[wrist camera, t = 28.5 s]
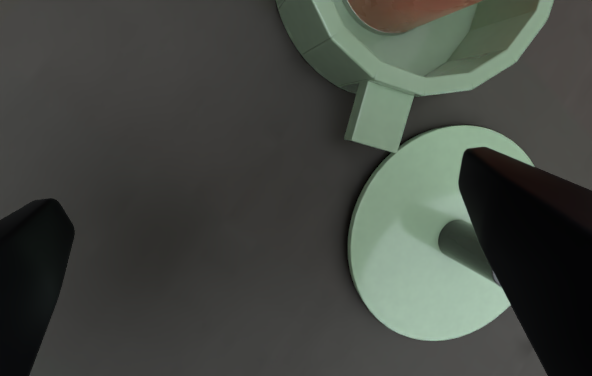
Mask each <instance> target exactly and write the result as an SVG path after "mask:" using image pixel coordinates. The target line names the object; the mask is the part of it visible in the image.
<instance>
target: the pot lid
mask: <svg viewBox="0 0 592 376" xmlns="http://www.w3.org/2000/svg"><path fill="white" fill-rule="evenodd" d="M476 147H488V148H490V149H493V150H495V151H497V152H500V153H502V154H505V155H507V156H509V157H512V158H514V159H517V160H519V161H521V162H524V163H526V164H529V165H531V166H533V167H534V165H533V163H532V162H531V160H530V158H529V157H528V156H527V155H526V154H525V153H524V151H523V150H522V149H521V148H520V147H519V146H518V145H516V144H515V143H514V142H513V141H512V140H510V139H508V138H507V137H505V136H504V135H502V134H500V133H498V132H495V131H493V130H491V129H487V128H483V127H479V126H469V125H453V126H444V127H440V128H435V129H432V130H429V131H426V132H424V133H421V134H419V135H417V136H415V137H413V138H412V139H410V140H408V141H406V142H405V143H403V144H402V145H401V146H399V148H398V151H397V153H391V154H390V155H389V156H387V157H386V158H385V159H384V160H383V161H382V162H381V164H380V165H379V166H378V167H377V168H376V170H375V171H374V172H373V173H372V175H371V176H370V178H369V179H368V181H367V182H366V184H365V186H364V188H363V190H362V192H361V194H360V196H359V198H358V200H357V203H356V205H355V208H354V211H353V214H352V218H351V222H350V227H349V234H348V262H349V268H350V273H351V276H352V280H353V283H354V286H355V288H356V290H357V292H358V294H359V296H360V298H361V300H362V301H363V303H364V304H365V306H366V307H367V308H368V310H369V311H370V312H371V313H372V314H373V315H374V316H375V317H376V318H377V319H378V320H379V321H380V322H381V323H383V324H384V325H385V326H386V327H388V328H389V329H391V330H393V331H395V332H396V333H398V334H401V335H404V336H406V337H409V338H413V339H418V340H426V341H440V340H448V339H453V338H458V337H461V336H464V335H467V334H469V333H472V332H474V331H476V330H478V329H480V328H482V327H483V326H485V325H487V324H488V323H490V322H491V321H493V320H494V319H495V318H497V317H498V316H499V315H500V314H502V313H503V312H504V311H505V310H506V309H507V308H508V307H509V306H510V305H511V304H510V302H509V300H508V299H507V297H506V295H505V293H504V291H503V289H502V287H501V285H500V283H499V281H498V279H497V278H496V276H495V274H494V272H493V270H492V268H491V266H490V264H489V262H488V260H487V258H486V256H485V254H484V252H483V250H482V248H481V246H480V244H479V241H478V239H477V236H476V233H475V231H474V228H473V225H472V223H471V220H470V217H469V215H468V212H467V209H466V207H465V204H464V201H463V199H462V196H461V193H460V190H459V186H458V179H459V173H460V168H461V162H462V157H463V153H464V151H465V150H466V149H468V148H476Z"/></svg>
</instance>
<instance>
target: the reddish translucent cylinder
mask: <svg viewBox="0 0 592 376" xmlns="http://www.w3.org/2000/svg"><path fill="white" fill-rule="evenodd" d="M342 1H343V3H344V5H345V7H346V9H347V11H348V12H349V13H350V15H351V16H352V17H353V18H354V20H355V21H356V22H357V23H359V24H360V25H361V26H362V27H364V28H365V29H367V30H369V31H371V32H373V33H376V34H379V35H385V36H395V35H401V34H404V33H406V32H409V31H411V30H413V29H415V28H417V27H419V26H421V25H424V24H426V23H429V22H431V21H434V20H436V19H439V18H441V17H444V16H446V15H448V14H451V13H453V12H456V11H458V10H461V9H463V8H466V7H468V6H471V5H473V4H476V3H478V2H481V1H483V0H342Z"/></svg>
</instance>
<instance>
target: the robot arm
mask: <svg viewBox="0 0 592 376" xmlns="http://www.w3.org/2000/svg"><path fill="white" fill-rule="evenodd" d="M458 186H459V190H460V193H461V196H462V199H463V201H464V204H465V207H466V209H467V212H468V215H469V217H470V220H471V223H472V225H473V228H474V231H475V233H476V236H477V239H478V241H479V244H480V246H481V248H482V250H483V252H484V254H485V256H486V258H487V260H488V262H489V264H490V266H491V268H492V270H493V272H494V274H495V276H496V278H497V279H498V281H499V283H500V285H501V287H502V289H503V291H504V293H505V295H506V297H507V299H508V300H509V302H510V304H511V306H512V308H513V310H514V312H515V314H516V316H517V318H518V320H519V322H520V323H521V325H522V327H523V329H524V331H525V333H526V335H527V337H528V339H529V341H530V343H531V344H532V346H533V348H534V350H535V352H536V354H537V356H538V358H539V360H540V362H541V364H542V365H543V367H544V369H545V371H546V373H547V375H548V376H592V191H591V190H589V189H586V188H584V187H581V186H579V185H577V184H574V183H572V182H569V181H567V180H565V179H562V178H560V177H557V176H555V175H553V174H550V173H548V172H545V171H543V170H541V169H538V168H536V167H533V166H531V165H529V164H526V163H524V162H521V161H519V160H517V159H514V158H512V157H509V156H507V155H505V154H502V153H500V152H497V151H495V150H493V149H490V148H488V147H476V148H468V149H466V150H465V151H464V153H463V157H462V162H461V168H460V173H459V179H458ZM74 235H75V230H74V226H73V224H72V222H71V221H70V219H69V217H68V216H67V214H66V213H65V211H64V209H63V208H62V206H61V205H60V203H59V202H58V201H57V200H55V199H52V198H49V199H41V200H35V201H32V202H30V203H29V204H27V205H25V206H24V207H22V208H20V209H19V210H17V211H15V212H13V213H12V214H10V215H8V216H7V217H5V218H3V219H2V220H0V376H29V375H30V372H31V369H32V367H33V364H34V361H35V359H36V356H37V353H38V351H39V348H40V345H41V343H42V340H43V337H44V335H45V332H46V329H47V327H48V324H49V321H50V319H51V316H52V313H53V311H54V308H55V306H56V303H57V300H58V297H59V294H60V290H61V287H62V283H63V279H64V275H65V271H66V267H67V263H68V259H69V255H70V252H71V248H72V244H73V240H74Z"/></svg>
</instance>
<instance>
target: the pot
mask: <svg viewBox="0 0 592 376" xmlns="http://www.w3.org/2000/svg"><path fill="white" fill-rule="evenodd" d="M553 2H554V0H483V1H481V2H478V3H476V4H473V5H471V6H468V7H466V8H463V9H461V10H458V11H456V12H453V13H451V14H448V15H446V16H444V17H441V18H439V19H436V20H434V21H431V22H429V23H426V24H424V25H421V26H419V27H417V28H415V29H413V30H411V31H409V32H406V33H404V34H401V35H395V36H385V35H379V34H376V33H373V32H371V31H369V30H367V29H365V28H364V27H362V26H361V25H360V24H359V23H357V22H356V21H355V20H354V18H353V17H352V16H351V15H350V13H349V12H348V11H347V9H346V7H345V5H344V3H343V1H342V0H276V3H277V7H278V10H279V13H280V17H281V19H282V22H283V24H284V26H285V29H286V31H287V33H288V35H289V37H290V38H291V40H292V42H293V43H294V45H295V47H296V49H297V50H298V51H299V52H300V54H301V55H302V56H303V58H304V59H305V60H306V61H307V62H308V63H309V64H310V65H311V66H312V67H313V68H314V69H315V70H316V71H317V72H318V73H319V74H320V75H321V76H323V77H324V78H325V79H327V80H328V81H329V82H331V83H333V84H334V85H336V86H338V87H339V88H341V89H344V90H346V91H349V92H351V93H354V94H356V97H355V101H354V104H353V108H352V111H351V115H350V119H349V122H348V126H347V129H346V133H345V136H344V140H347V141H351V142H354V143H358V144H361V145H365V146H369V147H372V148H376V149H379V150H383V151H386V152H391V153H397V151H398V148H399V145H400V141H401V138H402V135H403V131H404V128H405V125H406V121H407V118H408V115H409V111H410V108H411V105H412V101H413V98H414V97H420V96H429V95H437V94H445V93H453V92H461V91H468V90H472V89H474V88H476V87H477V86H479V85H481V84H482V83H484V82H485V81H487V80H489V79H490V78H492V77H493V76H495V75H497V74H498V73H500V72H502V71H503V70H505V69H506V68H508V67H510V66H511V65H513V64H514V63H515V62H517V60H518V59H519V58H520V56H521V55H522V54H523V52H524V51H525V50H526V48H527V47H528V46H529V44H530V43H531V41H532V40H533V39H534V37H535V36H536V35H537V33H538V32H539V31H540V29H541V28H542V27H543V25H544V24H545V23H546V21H547V19H548V17H549V14H550V11H551V8H552V5H553Z"/></svg>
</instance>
